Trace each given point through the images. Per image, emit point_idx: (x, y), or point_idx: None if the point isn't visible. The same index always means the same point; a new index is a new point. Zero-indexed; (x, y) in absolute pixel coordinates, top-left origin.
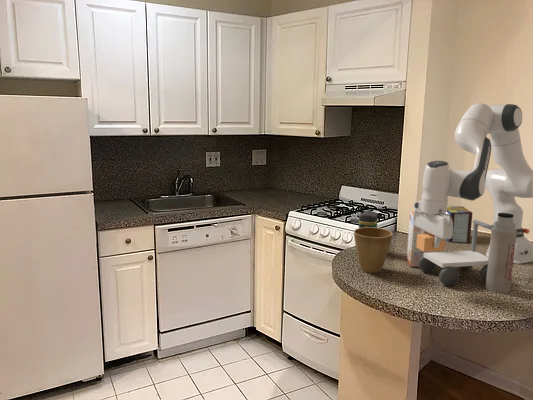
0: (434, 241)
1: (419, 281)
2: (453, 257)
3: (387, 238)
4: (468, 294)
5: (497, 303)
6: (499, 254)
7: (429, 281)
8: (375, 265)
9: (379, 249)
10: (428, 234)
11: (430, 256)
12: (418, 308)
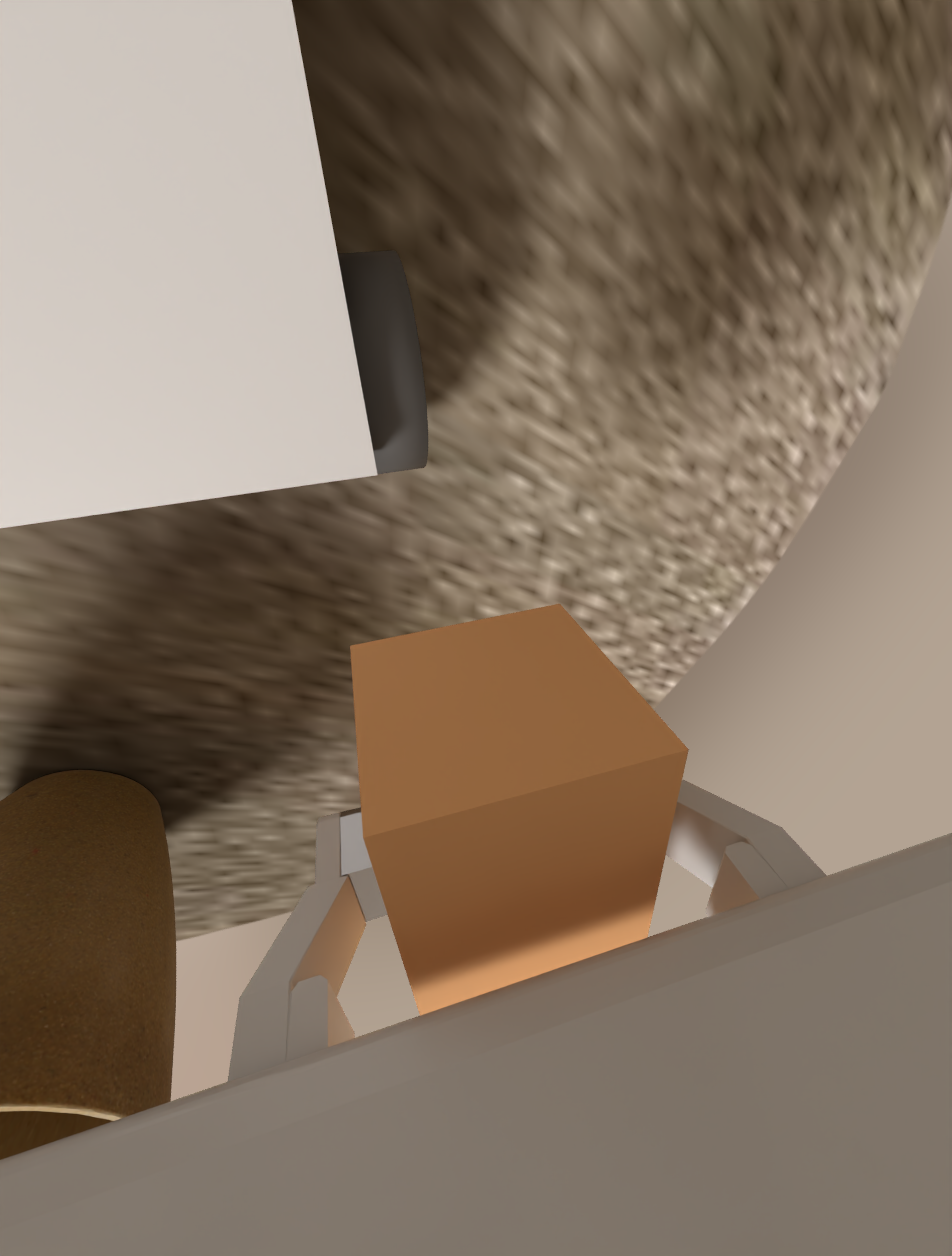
0: (672, 854)
1: (293, 569)
2: (5, 87)
3: (89, 1079)
4: (568, 292)
5: (764, 137)
6: None
7: (285, 492)
8: (167, 850)
9: (165, 977)
10: (460, 963)
11: (72, 510)
12: (658, 679)
